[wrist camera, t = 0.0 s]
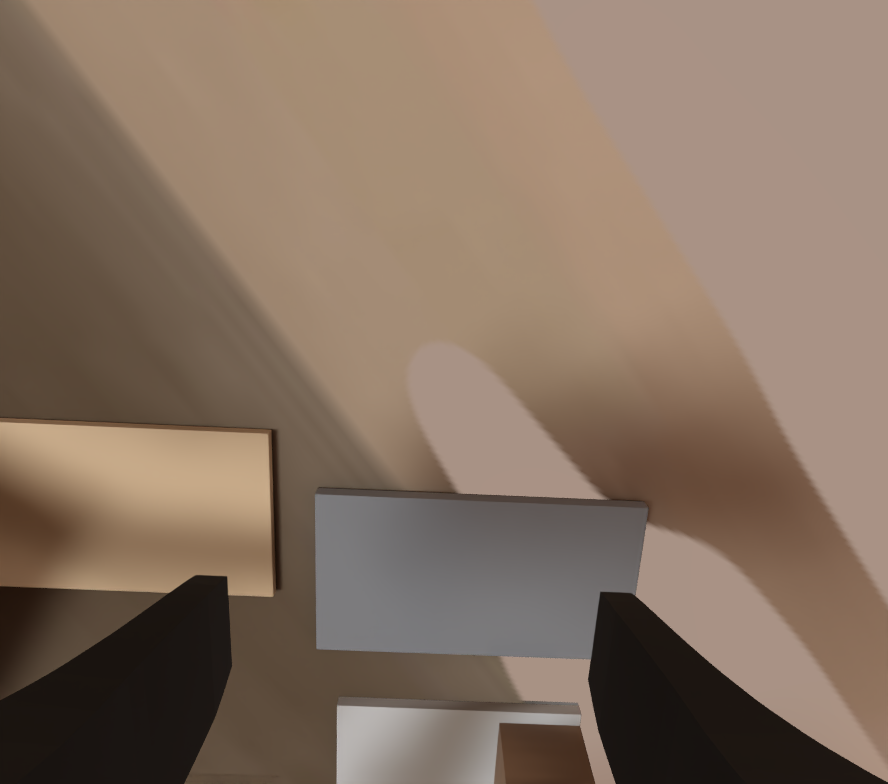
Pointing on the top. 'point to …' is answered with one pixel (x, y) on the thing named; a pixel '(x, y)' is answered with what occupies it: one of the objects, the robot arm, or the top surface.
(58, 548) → the cork trivet
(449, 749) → the brown and white block
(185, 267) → the top surface
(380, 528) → the slate pad
